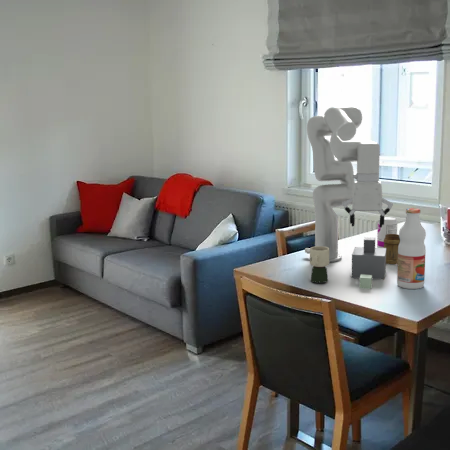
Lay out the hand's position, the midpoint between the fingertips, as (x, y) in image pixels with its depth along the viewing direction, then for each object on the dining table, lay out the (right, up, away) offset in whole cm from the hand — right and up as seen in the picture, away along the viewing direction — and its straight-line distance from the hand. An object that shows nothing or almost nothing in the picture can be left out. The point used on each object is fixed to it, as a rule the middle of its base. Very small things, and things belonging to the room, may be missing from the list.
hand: (366, 226), depth 214 cm
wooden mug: (+21, -15, +34) cm, 43 cm away
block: (+1, -22, +5) cm, 22 cm away
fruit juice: (+17, -22, +4) cm, 28 cm away
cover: (+5, -19, +20) cm, 28 cm away
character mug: (-15, -21, +12) cm, 28 cm away
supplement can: (+21, -12, +51) cm, 56 cm away
